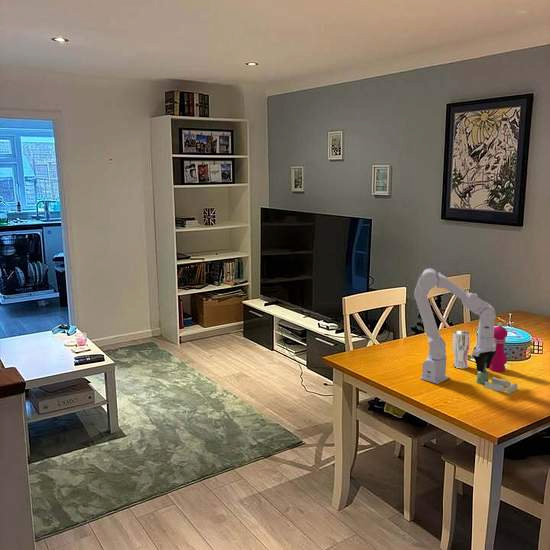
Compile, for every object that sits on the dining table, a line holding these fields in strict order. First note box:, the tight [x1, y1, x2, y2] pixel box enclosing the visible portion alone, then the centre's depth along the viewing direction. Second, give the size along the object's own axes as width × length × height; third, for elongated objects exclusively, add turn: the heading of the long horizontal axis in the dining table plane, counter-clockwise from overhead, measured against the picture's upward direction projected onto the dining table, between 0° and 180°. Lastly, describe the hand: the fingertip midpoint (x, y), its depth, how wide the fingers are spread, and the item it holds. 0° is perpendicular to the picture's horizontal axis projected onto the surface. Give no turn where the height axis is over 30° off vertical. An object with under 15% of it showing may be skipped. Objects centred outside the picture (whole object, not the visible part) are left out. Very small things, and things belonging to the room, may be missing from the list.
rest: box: [483, 376, 518, 395], centre depth 208 cm, size 7×10×2 cm
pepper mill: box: [488, 322, 508, 373], centre depth 226 cm, size 7×7×20 cm
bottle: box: [476, 363, 490, 386], centre depth 213 cm, size 4×4×8 cm
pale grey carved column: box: [452, 329, 471, 370], centre depth 230 cm, size 7×7×15 cm
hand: (483, 369), depth 213 cm, fingers open, 4 cm apart
